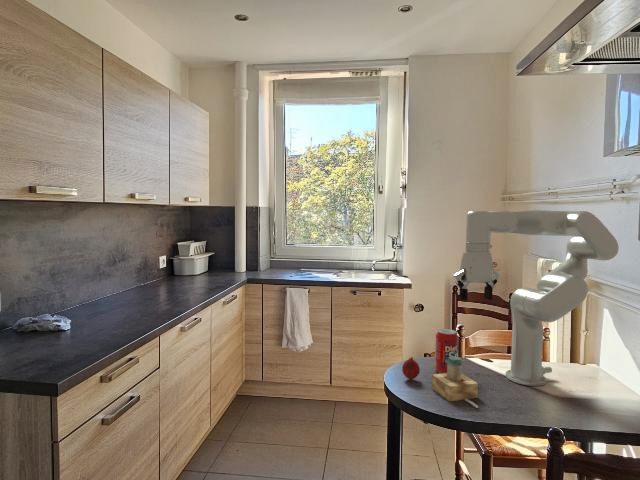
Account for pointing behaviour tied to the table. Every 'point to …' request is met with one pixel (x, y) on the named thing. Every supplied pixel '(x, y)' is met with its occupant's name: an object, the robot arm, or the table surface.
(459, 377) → the green capped spice bottle
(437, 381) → the wooden block
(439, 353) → the soda can
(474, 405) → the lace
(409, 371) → the onion
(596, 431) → the table surface
